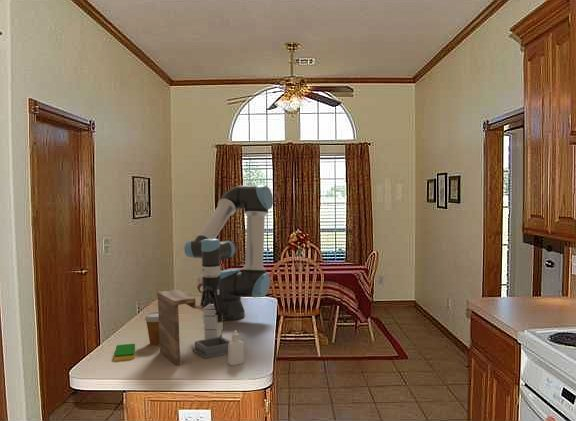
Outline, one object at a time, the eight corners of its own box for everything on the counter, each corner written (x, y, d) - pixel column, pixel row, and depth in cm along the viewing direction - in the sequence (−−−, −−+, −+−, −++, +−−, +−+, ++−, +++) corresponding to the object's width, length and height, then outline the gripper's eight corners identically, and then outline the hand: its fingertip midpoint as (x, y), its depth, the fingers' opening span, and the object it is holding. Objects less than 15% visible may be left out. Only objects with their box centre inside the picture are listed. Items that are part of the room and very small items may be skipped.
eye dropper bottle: (228, 361, 194) (227, 329, 193) (244, 360, 194) (243, 328, 194) (228, 365, 189) (227, 332, 189) (244, 364, 190) (243, 331, 189)
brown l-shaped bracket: (179, 348, 212) (177, 289, 211) (197, 361, 195) (195, 298, 194) (159, 351, 208) (157, 292, 207) (176, 365, 191) (174, 300, 190)
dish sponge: (135, 349, 214) (135, 343, 213) (134, 359, 200) (134, 353, 200) (116, 350, 212) (116, 344, 212) (114, 361, 198) (114, 355, 198)
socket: (222, 344, 216) (222, 335, 215) (236, 352, 204) (236, 343, 204) (192, 349, 209) (192, 341, 209) (204, 358, 198) (204, 349, 198)
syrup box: (217, 341, 219) (216, 307, 219) (204, 341, 220) (203, 306, 220) (222, 337, 225) (221, 303, 224) (209, 337, 226) (208, 303, 225)
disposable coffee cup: (173, 340, 223) (172, 312, 222) (161, 347, 214) (160, 317, 213) (154, 339, 226) (153, 311, 225) (141, 345, 217) (140, 316, 216)
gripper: (192, 273, 230) (193, 321, 231) (214, 280, 209) (216, 334, 210) (208, 271, 234) (209, 319, 235) (232, 278, 213) (233, 331, 213)
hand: (212, 326), depth 222 cm, fingers open, 13 cm apart
